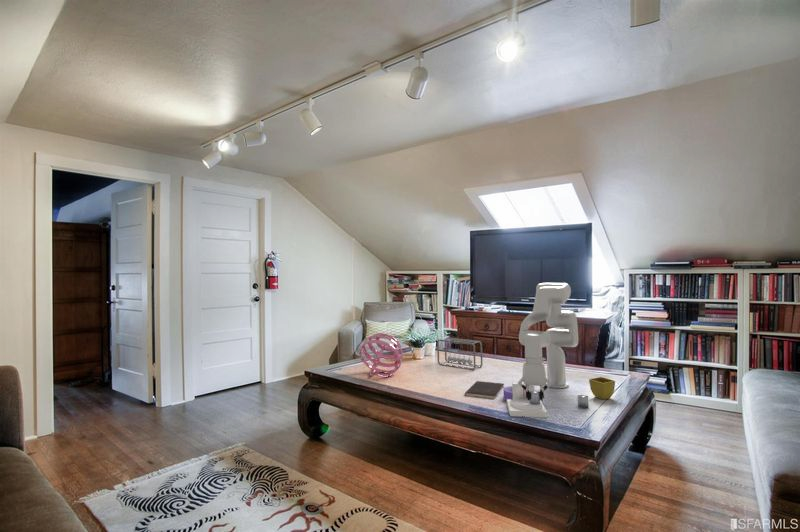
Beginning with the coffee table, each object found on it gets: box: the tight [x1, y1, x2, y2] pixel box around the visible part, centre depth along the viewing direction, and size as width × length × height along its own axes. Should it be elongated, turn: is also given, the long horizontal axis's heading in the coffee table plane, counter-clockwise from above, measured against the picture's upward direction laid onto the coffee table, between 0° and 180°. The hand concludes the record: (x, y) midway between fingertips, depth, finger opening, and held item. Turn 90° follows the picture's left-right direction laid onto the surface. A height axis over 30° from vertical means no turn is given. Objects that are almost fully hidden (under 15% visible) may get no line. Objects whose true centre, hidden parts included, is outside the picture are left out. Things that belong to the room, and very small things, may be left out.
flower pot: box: [588, 376, 616, 400], centre depth 204 cm, size 9×9×9 cm
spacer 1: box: [530, 390, 540, 405], centre depth 188 cm, size 5×5×5 cm
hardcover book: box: [464, 380, 505, 400], centre depth 220 cm, size 16×23×2 cm
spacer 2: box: [577, 394, 590, 409], centre depth 192 cm, size 5×5×5 cm
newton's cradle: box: [436, 337, 483, 370], centre depth 278 cm, size 30×10×18 cm, turn 50°
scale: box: [506, 382, 548, 418], centre depth 190 cm, size 18×16×10 cm
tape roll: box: [502, 385, 513, 401], centre depth 206 cm, size 12×12×5 cm
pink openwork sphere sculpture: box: [358, 332, 404, 378], centre depth 258 cm, size 28×28×27 cm
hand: (534, 399), depth 188 cm, fingers open, 5 cm apart
